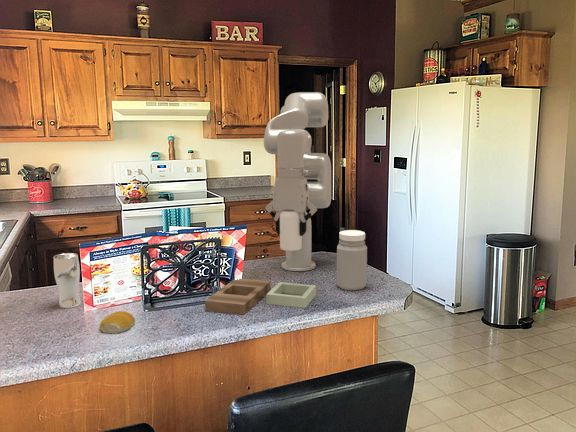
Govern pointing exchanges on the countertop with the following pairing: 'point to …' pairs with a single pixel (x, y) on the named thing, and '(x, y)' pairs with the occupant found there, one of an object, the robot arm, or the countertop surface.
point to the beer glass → (67, 279)
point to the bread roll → (117, 322)
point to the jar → (351, 260)
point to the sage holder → (291, 300)
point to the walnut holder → (238, 296)
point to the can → (290, 231)
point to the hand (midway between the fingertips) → (291, 233)
